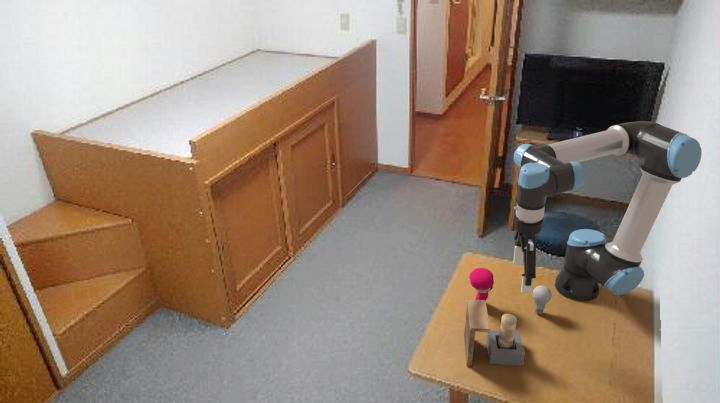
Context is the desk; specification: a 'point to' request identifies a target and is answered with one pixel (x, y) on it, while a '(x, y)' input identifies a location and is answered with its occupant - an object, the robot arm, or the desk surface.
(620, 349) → the desk surface
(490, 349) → the socket
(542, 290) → the lightbulb
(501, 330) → the peg
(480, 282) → the toy
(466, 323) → the wooden lipped block
